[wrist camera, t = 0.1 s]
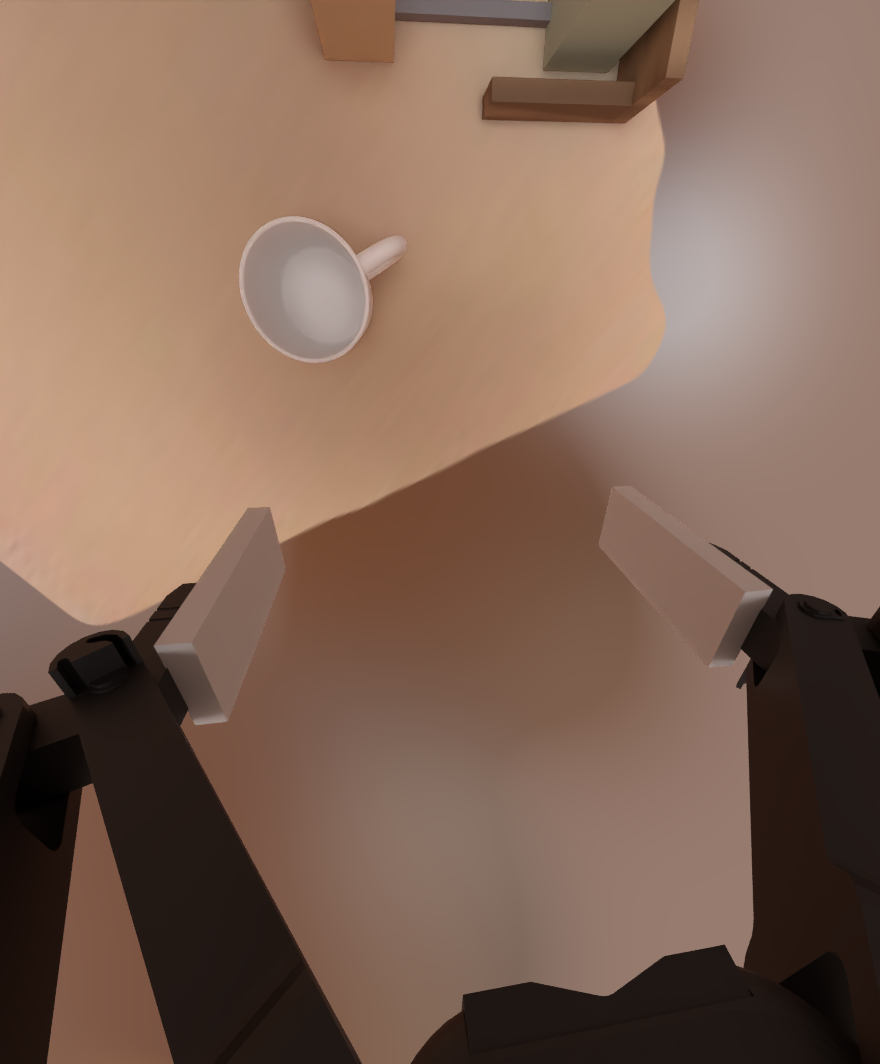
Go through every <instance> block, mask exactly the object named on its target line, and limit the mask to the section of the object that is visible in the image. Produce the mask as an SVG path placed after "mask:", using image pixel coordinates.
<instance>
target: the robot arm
mask: <svg viewBox="0 0 880 1064" xmlns="http://www.w3.org/2000/svg"><path fill="white" fill-rule="evenodd" d="M599 547H600V548H601V549H602V550H603V551H604V552H605V553H606V555H607V556H608V557H609V558H610V559H611V560H612V561H613V562H614V563H615V564H616V565H617V567H618V568H619V569H620V570H621V571H622V572H623V573H624V575H625V576H626V577H627V578H628V579H629V580H630V581H631V582H632V583H633V585H634V586H635V587H636V588H637V589H638V590H639V591H640V592H641V593H642V594H643V596H644V597H645V598H646V599H647V600H648V601H649V602H650V604H651V605H652V606H653V607H654V608H655V609H656V610H657V611H658V612H659V614H660V615H661V616H662V617H663V618H664V619H665V620H666V621H667V622H668V623H669V625H670V626H671V627H672V628H673V629H674V630H675V631H676V632H677V634H678V635H679V636H680V637H681V638H682V639H683V640H684V641H685V643H686V644H687V645H688V646H689V647H690V648H691V649H692V650H693V651H694V652H695V654H696V655H697V656H698V657H699V658H700V659H701V660H702V661H703V663H704V664H705V665H706V666H707V667H708V668H710V667H719V666H728V665H733V663H734V661H735V660H736V658H737V656H738V654H739V652H740V650H741V649H742V650H743V651H744V652H745V653H746V654H747V655H748V656H749V657H750V658H751V659H750V661H749V663H748V665H747V667H746V668H745V670H744V672H743V674H742V676H741V677H740V679H739V681H738V683H737V686H736V687H737V688H739V689H741V687H742V685H743V684H745V683H747V714H748V715H747V716H748V749H749V777H750V778H749V781H750V814H751V847H752V876H753V877H752V879H753V912H754V922H753V932H752V937H751V940H750V943H749V946H748V949H747V952H746V956H745V962H744V968H742V967H739V966H736V965H735V963H734V961H733V960H732V957H731V956H730V954H729V952H728V950H727V948H726V946H725V945H720V946H715V947H711V948H705V949H700V950H695V951H690V952H684V953H679V954H673V955H668V956H664V957H663V958H661V959H660V960H659V961H657V962H656V963H654V964H653V965H652V966H650V967H649V968H648V969H646V970H645V971H643V972H642V973H641V974H640V975H638V976H637V977H635V978H634V979H632V980H631V981H630V982H628V983H627V984H626V985H624V986H623V987H622V988H620V989H619V990H617V991H616V992H615V993H614V994H611V995H609V996H598V995H593V994H588V993H583V992H578V991H573V990H568V989H563V988H558V987H553V986H549V985H544V984H539V983H534V982H528V983H522V984H517V985H512V986H506V987H501V988H496V989H491V990H485V991H480V992H475V993H470V994H465V995H463V1001H462V1011H461V1012H460V1013H458V1014H457V1015H455V1016H454V1017H453V1018H451V1019H450V1020H448V1021H447V1022H446V1023H444V1024H443V1025H442V1026H441V1027H440V1028H439V1029H438V1030H437V1031H436V1032H435V1033H434V1034H433V1035H432V1036H431V1037H430V1038H429V1039H428V1041H427V1042H426V1043H425V1044H424V1046H423V1047H422V1048H421V1049H420V1051H419V1052H418V1053H417V1055H416V1056H415V1058H414V1059H413V1061H412V1062H411V1064H880V607H879V608H878V610H877V611H876V613H875V614H874V615H873V617H872V618H871V619H868V618H860V617H852V616H848V615H847V614H846V613H845V612H844V611H842V610H841V609H840V608H838V607H837V606H835V605H833V604H831V603H829V602H827V601H825V600H822V599H819V598H816V597H813V596H809V595H803V594H791V595H789V594H787V593H786V592H784V591H783V590H782V589H780V588H779V587H777V586H776V585H775V584H773V583H772V582H770V581H769V580H768V579H766V578H765V577H763V576H762V575H760V574H759V573H758V572H756V571H755V570H753V569H750V567H749V566H748V565H746V564H745V563H744V562H740V560H739V559H738V558H737V557H735V556H734V555H732V554H731V553H730V552H728V551H726V550H724V549H722V548H720V547H718V546H716V545H714V544H711V543H709V542H707V541H706V540H704V539H703V538H701V537H700V536H699V535H698V534H696V533H695V532H693V531H692V530H690V529H689V528H688V527H686V526H685V525H683V524H682V523H681V522H679V521H678V520H677V519H675V518H674V517H673V516H671V515H670V514H668V513H667V512H666V511H664V510H663V509H662V508H660V507H659V506H658V505H656V504H655V503H653V502H652V501H651V500H649V499H648V498H647V497H645V496H644V495H642V494H641V493H640V492H638V491H637V490H635V489H634V488H633V487H631V486H618V487H612V489H611V494H610V498H609V503H608V507H607V511H606V515H605V520H604V524H603V528H602V532H601V537H600V541H599ZM284 572H285V565H284V561H283V557H282V553H281V549H280V545H279V541H278V537H277V533H276V529H275V525H274V521H273V518H272V514H271V510H270V507H261V508H248V509H247V510H246V512H245V513H244V515H243V516H242V518H241V519H240V520H239V522H238V523H237V525H236V526H235V528H234V529H233V531H232V532H231V534H230V535H229V537H228V538H227V539H226V541H225V542H224V544H223V545H222V547H221V548H220V550H219V551H218V553H217V554H216V556H215V557H214V558H213V560H212V561H211V563H210V564H209V566H208V567H207V569H206V570H205V572H204V573H203V575H202V576H201V577H200V579H199V580H198V582H197V583H189V584H182V585H181V586H179V587H178V588H177V589H175V590H174V591H173V592H171V593H170V594H169V595H167V596H166V598H165V599H164V600H163V602H162V603H161V604H160V606H159V607H158V608H157V611H155V612H154V614H153V615H152V616H151V617H150V619H149V622H147V623H146V624H145V625H144V627H143V628H142V629H141V631H140V632H139V633H138V635H137V636H136V637H135V639H134V640H133V641H132V640H131V638H130V636H129V635H128V634H127V633H125V632H124V631H119V630H109V631H103V632H98V633H95V634H92V635H89V636H87V637H84V638H82V639H80V640H78V641H76V642H74V643H72V644H70V645H69V646H68V647H66V648H65V649H64V650H62V651H61V652H60V653H59V654H58V655H57V656H56V657H55V658H54V659H53V661H52V662H51V663H50V666H49V672H48V673H49V674H50V675H51V677H52V678H53V679H54V681H55V682H56V683H57V685H58V686H59V687H60V688H61V690H62V691H63V692H64V694H65V695H62V696H58V697H55V698H52V699H49V700H46V701H42V702H39V703H36V704H33V705H30V706H29V705H28V704H27V703H26V702H25V700H24V699H23V698H22V697H20V696H19V695H17V694H15V693H3V694H0V1064H47V1056H48V1049H49V1042H50V1034H51V1026H52V1018H53V1010H54V1003H55V995H56V986H57V980H58V972H59V964H60V956H61V949H62V941H63V933H64V925H65V917H66V909H67V902H68V894H69V886H70V879H71V871H72V862H73V856H74V848H75V840H76V832H77V824H78V817H79V809H80V802H81V794H82V787H84V786H87V785H89V784H92V783H93V784H94V788H95V792H96V795H97V798H98V802H99V805H100V809H101V812H102V816H103V819H104V823H105V826H106V830H107V833H108V836H109V840H110V843H111V847H112V851H113V854H114V857H115V861H116V864H117V868H118V871H119V875H120V878H121V881H122V885H123V889H124V892H125V896H126V899H127V903H128V906H129V909H130V913H131V916H132V920H133V923H134V927H135V930H136V934H137V937H138V940H139V944H140V947H141V951H142V955H143V958H144V961H145V965H146V968H147V972H148V975H149V979H150V982H151V986H152V989H153V992H154V996H155V999H156V1003H157V1006H158V1010H159V1013H160V1016H161V1020H162V1024H163V1027H164V1031H165V1034H166V1037H167V1041H168V1044H169V1048H170V1052H171V1055H172V1059H173V1062H174V1064H362V1063H361V1061H360V1059H359V1057H358V1055H357V1053H356V1051H355V1050H354V1048H353V1046H352V1044H351V1042H350V1040H349V1038H348V1037H347V1035H346V1033H345V1031H344V1029H343V1028H342V1026H341V1024H340V1022H339V1020H338V1019H337V1017H336V1015H335V1013H334V1011H333V1009H332V1008H331V1006H330V1004H329V1002H328V1000H327V998H326V996H325V995H324V993H323V991H322V989H321V987H320V985H319V984H318V982H317V980H316V978H315V976H314V974H313V972H312V970H311V969H310V967H309V965H308V963H307V961H306V959H305V958H304V956H303V954H302V952H301V950H300V948H299V946H298V944H297V943H296V941H295V939H294V937H293V935H292V933H291V931H290V930H289V928H288V926H287V924H286V922H285V920H284V918H283V916H282V915H281V913H280V911H279V909H278V907H277V905H276V903H275V902H274V900H273V898H272V896H271V894H270V892H269V890H268V889H267V887H266V885H265V883H264V881H263V879H262V878H261V876H260V874H259V872H258V870H257V868H256V866H255V864H254V863H253V861H252V859H251V857H250V855H249V853H248V851H247V850H246V848H245V846H244V844H243V842H242V840H241V838H240V837H239V835H238V833H237V831H236V829H235V827H234V825H233V824H232V822H231V820H230V818H229V816H228V815H227V812H226V811H225V809H224V807H223V805H222V803H221V801H220V799H219V798H218V796H217V794H216V792H215V790H214V788H213V786H212V784H211V783H210V781H209V779H208V777H207V775H206V773H205V771H204V770H203V768H202V766H201V764H200V762H199V760H198V758H197V757H196V755H195V753H194V751H193V749H192V747H191V746H190V744H189V742H188V740H187V738H186V736H185V734H184V732H183V731H182V729H181V727H180V725H181V723H182V721H183V719H184V717H185V715H186V713H187V711H188V712H189V714H190V716H191V718H192V720H193V722H194V724H195V725H201V724H210V723H219V722H227V721H228V719H229V716H230V714H231V711H232V708H233V706H234V703H235V700H236V698H237V695H238V692H239V690H240V687H241V685H242V682H243V679H244V677H245V674H246V672H247V669H248V666H249V664H250V661H251V658H252V656H253V653H254V651H255V648H256V645H257V642H258V640H259V637H260V635H261V632H262V630H263V627H264V624H265V622H266V619H267V616H268V614H269V611H270V609H271V606H272V603H273V601H274V598H275V595H276V593H277V590H278V587H279V585H280V582H281V579H282V577H283V574H284Z"/></svg>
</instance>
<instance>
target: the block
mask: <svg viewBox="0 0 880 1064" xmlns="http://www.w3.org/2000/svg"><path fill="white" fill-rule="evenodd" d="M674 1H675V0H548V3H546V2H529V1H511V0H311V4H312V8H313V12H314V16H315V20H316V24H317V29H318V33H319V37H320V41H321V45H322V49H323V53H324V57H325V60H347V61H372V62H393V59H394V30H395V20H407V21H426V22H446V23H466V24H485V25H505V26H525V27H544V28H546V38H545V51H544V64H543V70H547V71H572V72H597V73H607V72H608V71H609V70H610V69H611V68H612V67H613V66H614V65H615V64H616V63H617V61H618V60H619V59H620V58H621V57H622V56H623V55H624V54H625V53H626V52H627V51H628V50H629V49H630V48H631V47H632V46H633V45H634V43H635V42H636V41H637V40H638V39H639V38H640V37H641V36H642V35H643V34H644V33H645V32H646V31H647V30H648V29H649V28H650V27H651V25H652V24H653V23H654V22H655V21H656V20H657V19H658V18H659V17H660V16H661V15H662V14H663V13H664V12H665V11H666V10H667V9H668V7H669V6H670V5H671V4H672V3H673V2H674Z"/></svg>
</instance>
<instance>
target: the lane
mask: <svg viewBox="0 0 880 1064" xmlns="http://www.w3.org/2000/svg"><path fill="white" fill-rule="evenodd" d="M698 3H699V0H675V1H674V2H673V3H672V4H671V5H670V6H669V7H668V9H667V10H666V11H665V12H664V13H663V14H662V15H661V16H660V17H659V18H658V19H657V20H656V21H655V22H654V23H653V24H652V25H651V27H650V28H649V29H648V30H647V31H646V32H645V33H644V34H643V35H642V36H641V37H640V38H639V39H638V40H637V41H636V42H635V43H634V45H633V46H632V47H631V48H630V49H629V50H628V51H627V52H626V53H625V54H624V55H623V56H622V57H621V58H620V63H619V70H618V77H617V81H594V80H567V79H541V78H514V77H492V79H491V81H490V83H489V85H488V87H487V90H486V92H485V94H484V96H483V115H482V119H488V120H525V121H562V122H600V123H626V122H627V121H629V120H630V119H631V118H632V117H634V116H635V115H636V114H638V113H639V112H640V111H642V110H643V109H644V108H645V107H647V106H648V105H649V104H651V103H652V102H653V101H655V100H656V99H657V98H658V97H660V96H661V95H662V94H664V93H665V92H666V91H668V90H669V89H670V88H671V87H673V86H674V85H675V84H676V83H678V82H679V81H681V80H682V79H683V76H684V71H685V67H686V61H687V57H688V52H689V47H690V42H691V37H692V32H693V28H694V23H695V17H696V13H697V8H698Z"/></svg>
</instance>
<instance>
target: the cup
mask: <svg viewBox="0 0 880 1064" xmlns="http://www.w3.org/2000/svg"><path fill="white" fill-rule="evenodd" d="M406 250H407V242H406V240H405V238H404V237H402V236H400V235H393V236H390V237H387V238H385V239H382V240H380V241H378V242H377V243H375V244H373V245H371V246H369V247H368V248H366V249H364V250H363V251H361V252H359V253H358V254H355V253H354V251H353V250H352V249H351V247H350V246H349V245H348V244H347V242H346V241H345V240H344V239H343V238H342V237H341V236H340V235H339V234H337V233H336V232H335V231H334V230H332V229H331V228H329V227H328V226H326V225H324V224H323V223H320V222H318V221H316V220H313V219H310V218H306V217H300V216H286V217H280V218H277V219H274V220H272V221H269V222H268V223H266V224H264V225H263V226H262V227H260V228H259V229H258V230H257V231H256V232H255V233H254V234H253V235H252V237H251V238H250V239H249V241H248V243H247V244H246V246H245V249H244V251H243V254H242V257H241V261H240V267H239V287H240V294H241V298H242V302H243V305H244V308H245V310H246V313H247V315H248V317H249V319H250V321H251V322H252V324H253V326H254V327H255V329H256V330H257V331H258V333H259V334H260V335H261V336H262V337H263V339H264V340H265V341H267V342H268V343H269V344H270V345H271V346H272V347H273V348H275V349H276V350H277V351H279V352H280V353H282V354H284V355H286V356H288V357H290V358H292V359H295V360H298V361H302V362H307V363H323V362H328V361H332V360H334V359H337V358H339V357H341V356H343V355H344V354H346V353H347V352H348V351H349V350H351V349H352V348H353V346H354V345H355V344H356V343H357V342H358V341H359V339H360V338H361V337H362V336H363V334H364V333H365V331H366V329H367V327H368V325H369V323H370V320H371V316H372V310H373V297H372V290H371V286H370V283H369V280H371V279H372V278H374V277H375V276H377V275H378V274H380V273H381V272H382V271H384V270H385V269H387V268H388V267H389V266H391V265H392V264H394V263H395V262H396V261H397V260H399V259H400V258H401V257H402V256H403V255H404V254H405V252H406Z"/></svg>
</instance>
